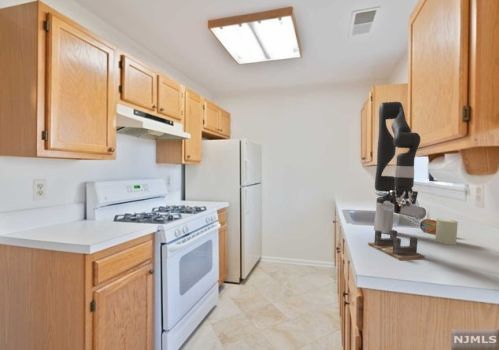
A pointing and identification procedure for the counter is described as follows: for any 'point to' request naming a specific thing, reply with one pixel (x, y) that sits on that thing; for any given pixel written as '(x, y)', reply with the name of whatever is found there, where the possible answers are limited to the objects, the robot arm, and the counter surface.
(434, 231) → the tin
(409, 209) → the tube
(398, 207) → the robot arm
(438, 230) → the can
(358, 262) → the counter surface
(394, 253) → the cradle stand
